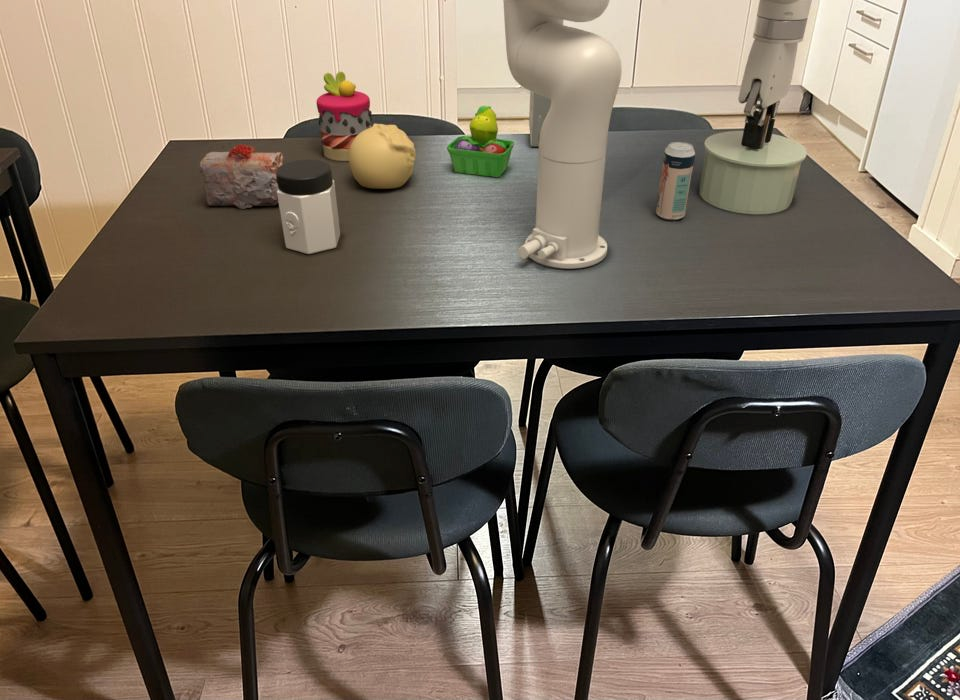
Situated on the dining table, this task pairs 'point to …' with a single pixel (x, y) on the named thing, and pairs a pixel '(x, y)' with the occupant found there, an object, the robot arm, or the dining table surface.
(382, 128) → the sculpture
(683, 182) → the beer can
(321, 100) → the cake
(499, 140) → the fruit basket
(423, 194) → the dining table surface
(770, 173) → the tub
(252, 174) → the food item
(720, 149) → the tub lid
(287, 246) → the jar
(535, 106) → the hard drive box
